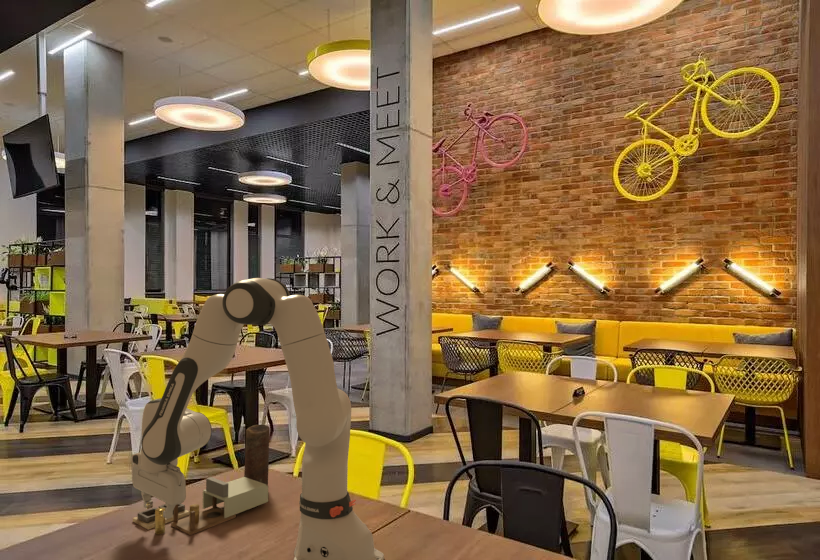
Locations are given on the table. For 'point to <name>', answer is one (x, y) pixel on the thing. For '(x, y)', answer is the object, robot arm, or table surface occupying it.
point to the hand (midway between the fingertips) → (157, 512)
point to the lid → (235, 494)
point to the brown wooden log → (257, 453)
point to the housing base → (200, 518)
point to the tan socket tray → (148, 516)
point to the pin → (159, 521)
